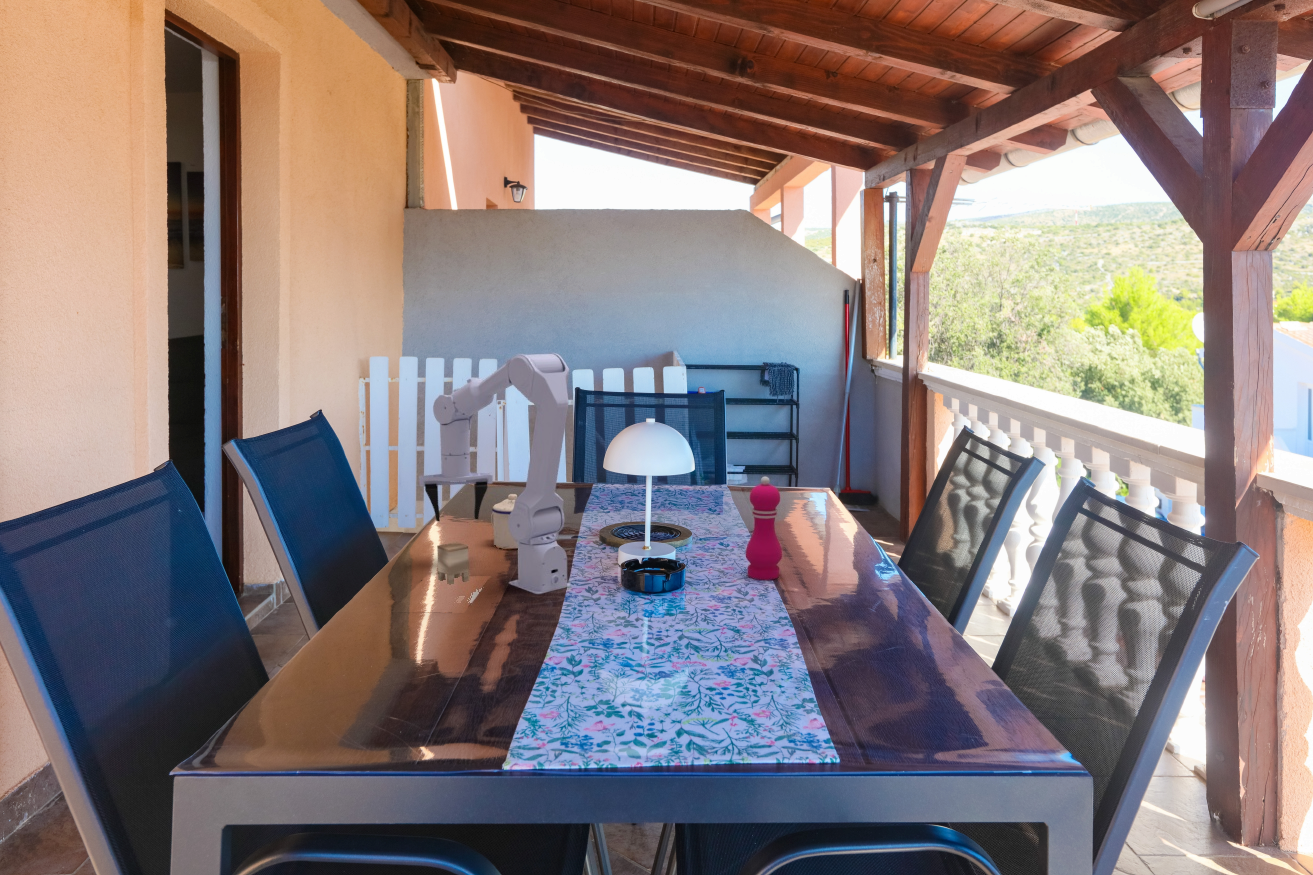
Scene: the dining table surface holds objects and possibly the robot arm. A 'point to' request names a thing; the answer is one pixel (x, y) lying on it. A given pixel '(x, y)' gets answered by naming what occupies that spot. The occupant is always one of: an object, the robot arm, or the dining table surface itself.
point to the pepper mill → (764, 533)
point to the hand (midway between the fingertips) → (457, 519)
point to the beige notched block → (453, 562)
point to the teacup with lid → (503, 523)
